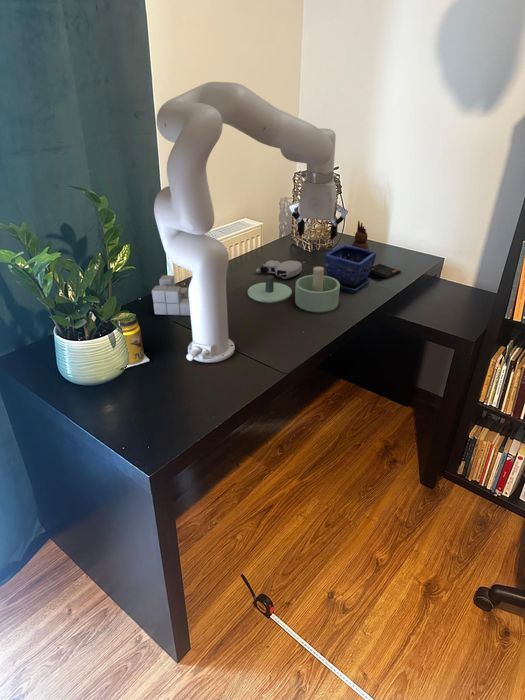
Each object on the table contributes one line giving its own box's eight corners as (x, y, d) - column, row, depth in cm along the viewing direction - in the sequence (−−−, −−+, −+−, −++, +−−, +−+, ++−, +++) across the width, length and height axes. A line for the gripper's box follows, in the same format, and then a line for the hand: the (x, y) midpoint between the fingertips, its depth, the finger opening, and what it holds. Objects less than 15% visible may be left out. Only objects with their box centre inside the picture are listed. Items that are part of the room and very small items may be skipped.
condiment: (149, 360, 129) (144, 320, 123) (118, 371, 125) (110, 329, 119) (139, 348, 135) (133, 309, 128) (109, 358, 131) (101, 317, 124)
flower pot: (374, 284, 170) (378, 251, 164) (356, 297, 161) (359, 263, 155) (340, 275, 177) (343, 243, 171) (321, 287, 168) (323, 254, 162)
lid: (282, 307, 156) (283, 289, 152) (240, 299, 160) (239, 282, 157) (297, 289, 167) (298, 272, 164) (257, 282, 172) (257, 266, 169)
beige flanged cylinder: (326, 308, 154) (328, 274, 148) (311, 309, 153) (312, 274, 147) (322, 295, 161) (324, 262, 155) (307, 296, 161) (308, 263, 155)
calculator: (400, 273, 179) (401, 265, 177) (380, 281, 172) (381, 273, 170) (379, 265, 185) (380, 258, 183) (359, 274, 178) (360, 266, 177)
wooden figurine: (347, 258, 191) (351, 219, 184) (361, 256, 193) (365, 218, 185) (355, 264, 186) (359, 225, 178) (369, 262, 187) (374, 223, 180)
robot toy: (254, 278, 177) (291, 284, 170) (253, 266, 175) (290, 271, 168) (271, 267, 186) (307, 272, 179) (270, 255, 184) (307, 260, 177)
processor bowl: (331, 316, 150) (333, 295, 146) (289, 309, 155) (289, 288, 151) (343, 298, 161) (344, 278, 157) (302, 292, 165) (303, 272, 162)
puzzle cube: (193, 315, 151) (190, 292, 147) (154, 314, 152) (151, 290, 148) (201, 298, 161) (199, 276, 157) (165, 297, 162) (162, 275, 158)
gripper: (286, 177, 138) (285, 237, 147) (346, 182, 133) (342, 244, 142) (294, 172, 144) (293, 229, 153) (353, 176, 139) (348, 235, 148)
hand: (316, 236), depth 147 cm, fingers open, 9 cm apart
